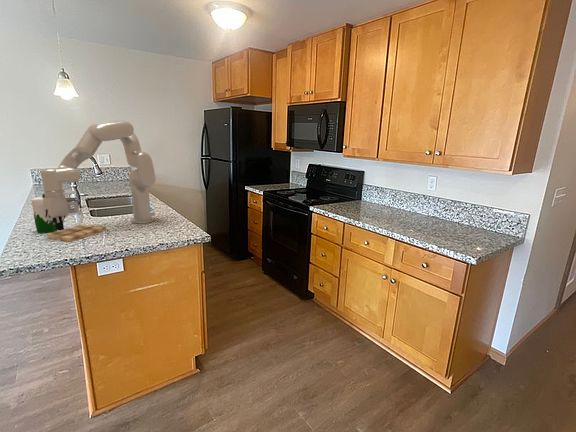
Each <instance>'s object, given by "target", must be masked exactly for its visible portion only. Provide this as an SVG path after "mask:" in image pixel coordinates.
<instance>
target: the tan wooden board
mask: <svg viewBox="0 0 576 432" xmlns="http://www.w3.org/2000/svg"><path fill="white" fill-rule="evenodd" d="M93 226H94V225H90V224H85V223H84V224H83V223H81V224H77V225H73V226H70V227H67V228H64V230H56V231H55V232H52V233H46V237H47V239H51V240H58V241H60V236H64V235H67V234H70V233H74V232H77V231H80V230H84V229H87V228H90V227H93Z"/></svg>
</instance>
